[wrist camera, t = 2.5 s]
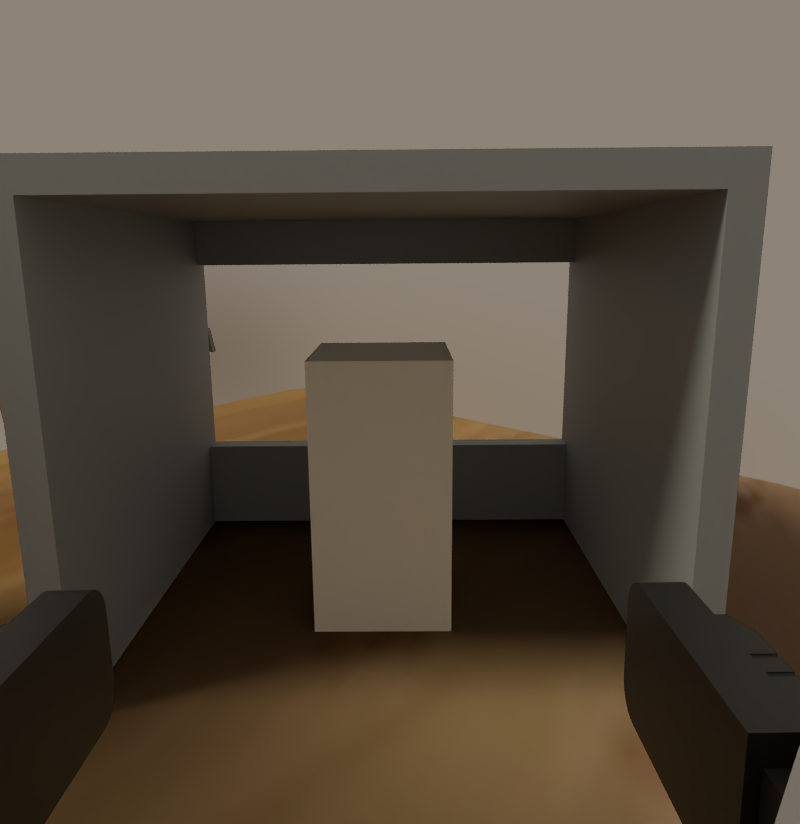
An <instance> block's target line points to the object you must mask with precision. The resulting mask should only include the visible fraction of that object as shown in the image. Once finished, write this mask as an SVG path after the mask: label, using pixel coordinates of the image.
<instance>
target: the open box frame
mask: <svg viewBox="0 0 800 824" xmlns="http://www.w3.org/2000/svg"><path fill="white" fill-rule="evenodd" d="M771 155H772V146H757V147H756V146H754V147H753V146H752V147H751V146H748V147H646V148H644V147H643V148H540V149H539V148H537V149H535V148H534V149H431V150H430V149H428V150H427V149H426V150H326V151H325V150H322V151H321V150H319V151H219V152H218V151H212V152H115V153H114V152H111V153H110V152H108V153H105V152H104V153H0V398H1V405H2V413H3V420H4V428H5V435H6V443H7V450H8V458H9V465H10V473H11V480H12V487H13V495H14V502H15V510H16V517H17V525H18V532H19V540H20V547H21V555H22V562H23V569H24V577H25V584H26V592H27V599H28V605H29V604H30V603H32V602H33V601H34V600H35V599H36V598H37V597H38V596H39V595H40V594H42V593H43V592H45V591H52V590H98V591H99V592H100V593H101V594H102V596H103V598H104V601H105V605H106V612H107V621H108V630H109V638H110V647H111V656H112V665H113V667H114V665H115V664H116V662H117V661H118V659H119V658H120V657H121V655H122V654H123V652H124V651H125V649H126V648H127V647H128V645H129V644H130V642H131V641H132V639H133V638H134V637H135V635H136V634H137V632H138V631H139V630H140V628H141V627H142V625H143V624H144V622H145V621H146V620H147V618H148V617H149V615H150V614H151V612H152V611H153V610H154V608H155V607H156V605H157V604H158V602H159V601H160V600H161V598H162V597H163V595H164V594H165V592H166V591H167V590H168V588H169V587H170V585H171V584H172V582H173V581H174V580H175V578H176V577H177V575H178V574H179V572H180V571H181V570H182V568H183V567H184V565H185V564H186V562H187V561H188V560H189V558H190V557H191V555H192V554H193V552H194V551H195V550H196V548H197V547H198V545H199V544H200V542H201V541H202V540H203V538H204V537H205V535H206V534H207V532H208V531H209V530H210V528H211V527H212V525H213V524H214V522H215V521H311V518H310V491H309V465H308V441H220V442H215V428H214V413H213V399H212V384H211V369H210V355H209V339H208V325H207V310H206V296H205V281H204V265H275V264H388V263H389V264H395V263H396V264H397V263H510V262H512V263H515V262H516V263H517V262H570V268H569V291H568V314H567V337H566V360H565V383H564V407H563V431H562V439H522V440H453V469H452V520H486V519H563V520H564V521H565V523H566V525H567V526H568V528H569V530H570V531H571V533H572V535H573V537H574V538H575V540H576V542H577V543H578V545H579V547H580V548H581V550H582V552H583V553H584V555H585V557H586V558H587V560H588V562H589V563H590V565H591V567H592V568H593V570H594V572H595V573H596V575H597V577H598V578H599V580H600V582H601V583H602V585H603V587H604V588H605V590H606V592H607V593H608V595H609V597H610V598H611V600H612V602H613V603H614V605H615V607H616V608H617V610H618V612H619V613H620V615H621V617H622V618H623V620H624V622H625V623H626V625H627V608H628V595H629V590H630V587H631V585H632V584H633V583H638V582H685V583H687V584H688V585H689V586H690V587H691V588H692V590H693V591H694V592H695V593H696V594H697V595H698V596H699V597H700V599H701V600H702V601H703V602H704V603H705V604H706V605H707V606H708V608H709V609H710V610H711V611H712V612H713V613H714V614H725V611H726V602H727V592H728V582H729V572H730V562H731V552H732V542H733V532H734V522H735V512H736V502H737V493H738V483H739V473H740V463H741V453H742V443H743V433H744V423H745V413H746V403H747V393H748V383H749V373H750V363H751V354H752V344H753V334H754V324H755V314H756V304H757V295H758V284H759V275H760V264H761V255H762V245H763V235H764V225H765V215H766V205H767V196H768V185H769V176H770V166H771Z"/></svg>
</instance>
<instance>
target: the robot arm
mask: <svg viewBox="0 0 800 824" xmlns="http://www.w3.org/2000/svg"><path fill="white" fill-rule="evenodd" d="M624 690H625V698H626V704H627V708H628V712H629V716H630V719H631V721H632V723H633V726H634V728H635V730H636V732H637V734H638V736H639V738H640V740H641V742H642V744H643V746H644V748H645V750H646V752H647V754H648V756H649V758H650V760H651V762H652V764H653V766H654V768H655V770H656V772H657V774H658V776H659V778H660V780H661V782H662V784H663V786H664V788H665V790H666V792H667V794H668V796H669V798H670V800H671V802H672V804H673V806H674V808H675V810H676V812H677V814H678V816H679V818H680V820H681V822H682V824H800V677H799V676H795V672H794V670H793V669H792V668H791V667H790V666H789V665H788V664H787V663H786V662H785V661H784V660H783V659H782V658H778V656H777V653H776V652H775V651H774V650H773V648H772V647H771V646H770V645H769V644H768V643H767V642H766V641H765V640H764V639H763V638H762V637H761V636H760V635H759V634H758V633H757V632H756V631H754V630H752V629H751V628H749V627H747V626H745V625H743V624H742V623H740V622H738V621H736V620H735V619H733V618H731V617H729V616H728V615H726V614H714V613H713V612H712V611H711V610H710V609H709V608H708V606H707V605H706V604H705V603H704V602H703V601H702V600H701V599H700V597H699V596H698V595H697V594H696V593H695V592H694V591H693V590H692V588H691V587H690V586H689V585H688V584H687V583H685V582H638V583H633V584H632V585H631V587H630V590H629V595H628V608H627V627H626V647H625V666H624ZM114 693H115V684H114V674H113V665H112V656H111V647H110V638H109V630H108V621H107V612H106V605H105V601H104V598H103V596H102V594H101V593H100V592H99V591H98V590H52V591H45V592H43V593H42V594H40V595H39V596H38V597H37V598H36V599H35V600H34V601H33V602H32V603H30V604H29V605H28V606H27V607H26V608H25V609H24V610H23V611H22V612H21V613H20V614H18V615H17V616H16V617H15V618H14V619H13V620H12V621H11V622H10V623H9V624H4V625H3V626H1V627H0V824H45V822H46V820H47V819H48V817H49V816H50V814H51V813H52V811H53V809H54V808H55V806H56V805H57V803H58V802H59V800H60V798H61V797H62V795H63V794H64V792H65V791H66V789H67V788H68V786H69V784H70V783H71V781H72V780H73V778H74V777H75V775H76V773H77V772H78V770H79V769H80V767H81V766H82V764H83V763H84V761H85V759H86V758H87V756H88V755H89V753H90V752H91V750H92V748H93V747H94V745H95V744H96V742H97V741H98V739H99V737H100V736H101V734H102V733H103V731H104V730H105V728H106V726H107V724H108V722H109V719H110V716H111V712H112V708H113V703H114Z"/></svg>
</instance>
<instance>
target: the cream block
mask: <svg viewBox="0 0 800 824" xmlns="http://www.w3.org/2000/svg"><path fill="white" fill-rule="evenodd" d="M305 385H306V412H307V439H308V465H309V491H310V518H311V544H312V570H313V597H314V623H315V632H375V631H451V591H452V469H453V359H452V357H451V354H450V352H449V350H448V348H447V346H446V343H445V342H418V343H416V342H412V343H411V342H410V343H321V344H320V345H319V346H318V347H317V349H316V350H315V351H314V352H313V353H312V354H311V355H310V356H309V357H308V359H307V360H306V361H305Z"/></svg>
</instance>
